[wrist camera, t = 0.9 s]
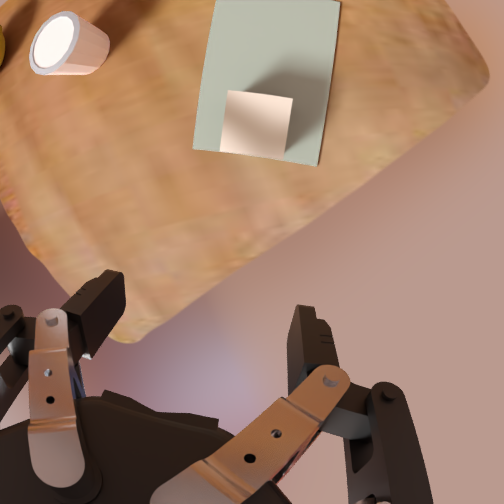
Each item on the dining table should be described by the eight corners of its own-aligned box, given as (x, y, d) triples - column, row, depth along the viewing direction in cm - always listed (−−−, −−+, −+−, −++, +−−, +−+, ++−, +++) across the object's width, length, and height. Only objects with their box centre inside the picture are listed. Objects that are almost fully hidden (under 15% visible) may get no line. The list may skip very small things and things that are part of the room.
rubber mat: (219, -12, 20) (219, -13, 20) (339, 3, 20) (340, 2, 20) (193, 148, 27) (192, 149, 27) (316, 166, 27) (316, 166, 27)
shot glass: (112, 16, 21) (78, -2, 15) (117, 66, 24) (81, 55, 17) (65, 41, 22) (28, 32, 16) (69, 89, 25) (29, 86, 18)
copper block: (235, 97, 25) (227, 90, 20) (289, 104, 25) (292, 98, 20) (228, 147, 27) (219, 151, 22) (281, 155, 27) (283, 160, 22)
